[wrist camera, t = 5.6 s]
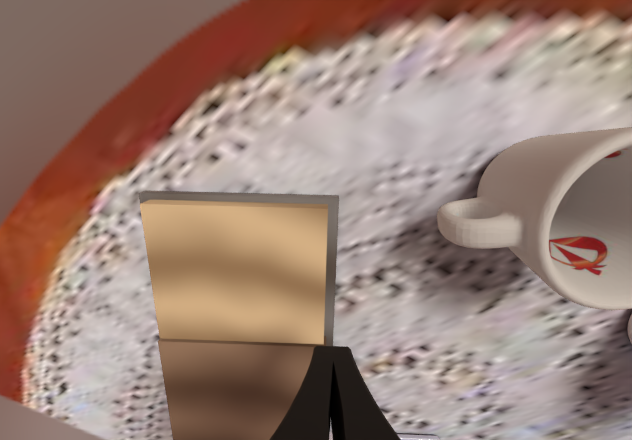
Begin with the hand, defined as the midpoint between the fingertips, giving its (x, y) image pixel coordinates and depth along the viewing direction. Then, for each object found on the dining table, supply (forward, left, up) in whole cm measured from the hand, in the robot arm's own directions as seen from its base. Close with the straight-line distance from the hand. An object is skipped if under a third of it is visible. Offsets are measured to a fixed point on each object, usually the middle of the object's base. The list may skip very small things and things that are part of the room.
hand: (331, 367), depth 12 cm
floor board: (-6, +6, -10) cm, 13 cm away
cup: (+5, -11, -11) cm, 16 cm away
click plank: (-1, +6, -10) cm, 11 cm away
